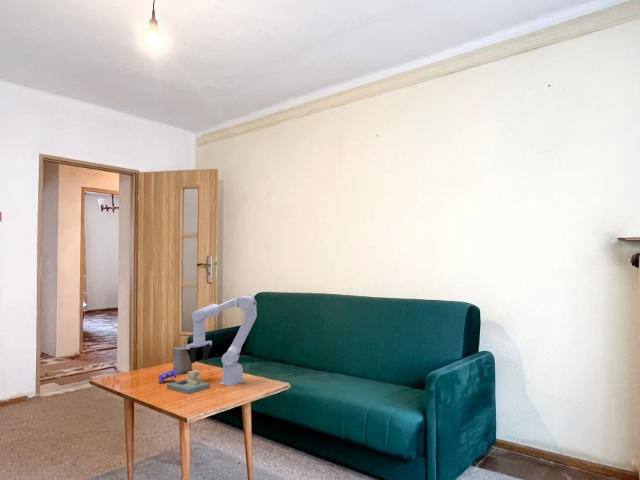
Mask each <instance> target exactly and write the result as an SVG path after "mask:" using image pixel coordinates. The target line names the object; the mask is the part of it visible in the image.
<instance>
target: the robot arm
mask: <svg viewBox="0 0 640 480" xmlns="http://www.w3.org/2000/svg"><path fill="white" fill-rule="evenodd" d="M232 307H236V308H240V309H241V310H242V311H243V314H244V316H245V317H244V319H243V321H242V322H241V325H240V327H239V329H238V331H237V334H236V336H235V337H234V339H233V341H232V343H231V345H230V346H229V348H228V349H227V351H226V352H225V353H224V354H223V355H222V357H221V363H222V381H221V382H219V384H220V385H225V386H235V385H237V384H241V383H245V381H244V373H243V372H244V369H243V365H242V364H241V363H238V361H239V359H240V353H241V350H242V347H243V344H244V343H245V341H246V339H247V337H248V335H249V333H250V332H251V329H252V327H253V325H254V323H255V321H256V319H257V316H258V314H257V300H256V298H255V297H254V296H253V295H252V294H247V295H245V296H244V295H243V296H239V297H235V298H232V299H229V300H227V301H225V302H222V303H220V304H216V303H209V305H207V306H205V307H200V309H196V310H194V311H193V312H192V313H191V319H192V321H193V324H192V326H193V331H192V333H193V334H192V336H193V337H192V339H193V341H192V343H188V344H186V345H185V346H186V351H187V353H188V355H189V357H190V361H191V363H192V364H195V363H196V353H197V349H196V348H200V347H201V350H202V360H203V361H205V362H206V361H207V360H208V358H209V353H210V352H211V350H212V349H213V341H212V340H206V320H209V319H210V318H213V317H216V316H218V315H220V312H221V311H224V310H226V309H229V308H232Z"/></svg>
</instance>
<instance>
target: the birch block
mask: <svg viewBox="0 0 640 480" xmlns="http://www.w3.org/2000/svg"><path fill="white" fill-rule="evenodd" d="M187 379H188V385H189V386H196V385H200V381H201V371H200V370H196V369H194V370H193V369H192V371H189V372H188V374H187Z"/></svg>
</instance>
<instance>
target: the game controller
mask: <svg viewBox="0 0 640 480" xmlns="http://www.w3.org/2000/svg"><path fill="white" fill-rule="evenodd" d="M175 370H176V369H175ZM175 370H174V369H170V370H168V371H165V372H164V373H160V374H159V375H158V380H159V383H160V384H161V385H162V384H163V382H164V385H165V383H166V381H167V384H169V380H167V379H169V378H171V379H172V380H174V378H175V379H177V378H178V376H177V374H176V371H175ZM178 374H179V373H178Z"/></svg>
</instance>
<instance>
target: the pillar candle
mask: <svg viewBox="0 0 640 480" xmlns="http://www.w3.org/2000/svg"><path fill="white" fill-rule="evenodd" d="M175 369H176V370H175ZM173 370H175V371H176V375H178V376H180V375H188V372H189V371H193V363H191V361H190V357H189V355H188V353H187V351H186V345H180V346H175V347H173ZM178 373H179V374H178Z"/></svg>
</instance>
